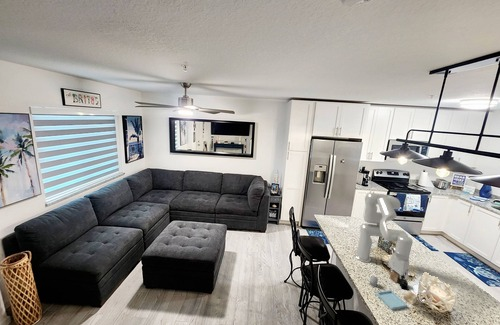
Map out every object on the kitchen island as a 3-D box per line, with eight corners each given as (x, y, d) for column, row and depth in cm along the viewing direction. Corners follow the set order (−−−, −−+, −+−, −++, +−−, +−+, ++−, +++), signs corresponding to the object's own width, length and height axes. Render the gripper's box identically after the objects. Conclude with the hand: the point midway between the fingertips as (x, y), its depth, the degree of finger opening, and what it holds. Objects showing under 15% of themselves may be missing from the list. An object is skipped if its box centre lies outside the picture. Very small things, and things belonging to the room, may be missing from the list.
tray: (376, 294, 141) (376, 292, 140) (390, 292, 143) (391, 290, 143) (391, 310, 129) (391, 307, 129) (406, 307, 132) (407, 305, 132)
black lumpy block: (395, 279, 157) (396, 273, 156) (406, 282, 155) (407, 276, 154) (400, 291, 146) (402, 285, 145) (412, 294, 143) (414, 288, 143)
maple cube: (403, 299, 138) (404, 292, 137) (407, 296, 141) (408, 290, 140) (411, 305, 134) (413, 298, 133) (415, 302, 136) (417, 296, 135)
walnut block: (389, 278, 135) (391, 270, 134) (395, 277, 136) (397, 269, 135) (396, 283, 131) (397, 275, 130) (401, 282, 132) (403, 274, 131)
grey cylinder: (368, 282, 151) (369, 276, 150) (373, 281, 152) (374, 276, 151) (372, 287, 147) (374, 281, 146) (378, 286, 148) (379, 280, 147)
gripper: (385, 247, 137) (380, 271, 141) (409, 264, 121) (403, 291, 125) (394, 246, 139) (389, 270, 142) (419, 263, 123) (413, 289, 126)
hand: (395, 279), depth 133 cm, fingers closed on walnut block, 4 cm apart
